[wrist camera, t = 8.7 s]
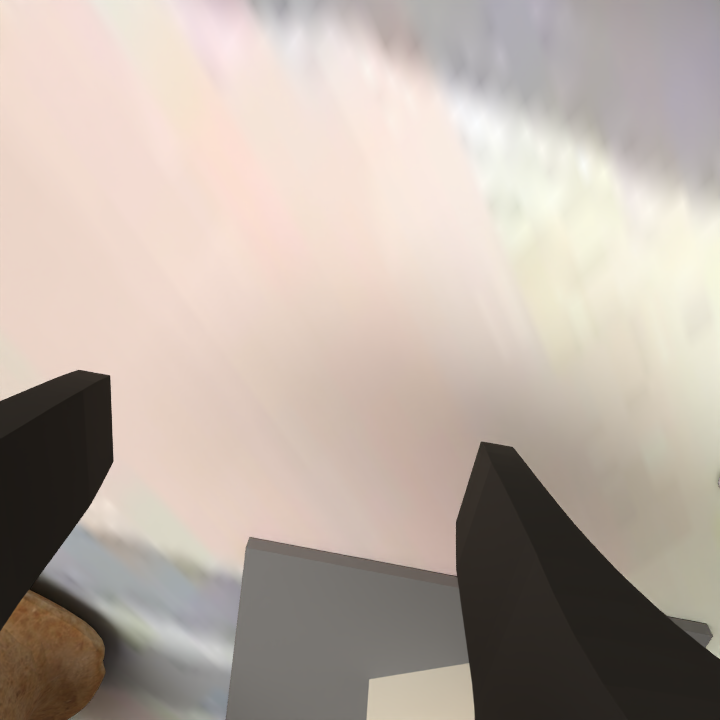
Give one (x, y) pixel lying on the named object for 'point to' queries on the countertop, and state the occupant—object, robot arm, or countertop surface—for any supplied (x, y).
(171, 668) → the countertop surface
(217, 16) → the countertop surface
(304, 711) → the charcoal mat
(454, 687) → the cream cube
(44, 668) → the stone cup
